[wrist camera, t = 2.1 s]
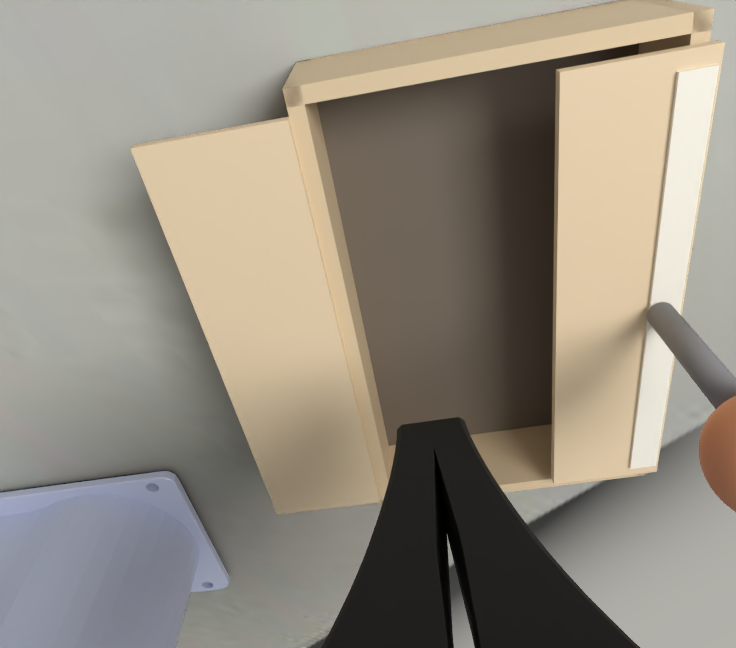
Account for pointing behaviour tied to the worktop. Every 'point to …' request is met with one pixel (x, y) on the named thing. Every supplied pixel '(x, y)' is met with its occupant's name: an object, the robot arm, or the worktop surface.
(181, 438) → the worktop surface
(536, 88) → the carton
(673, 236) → the flap
